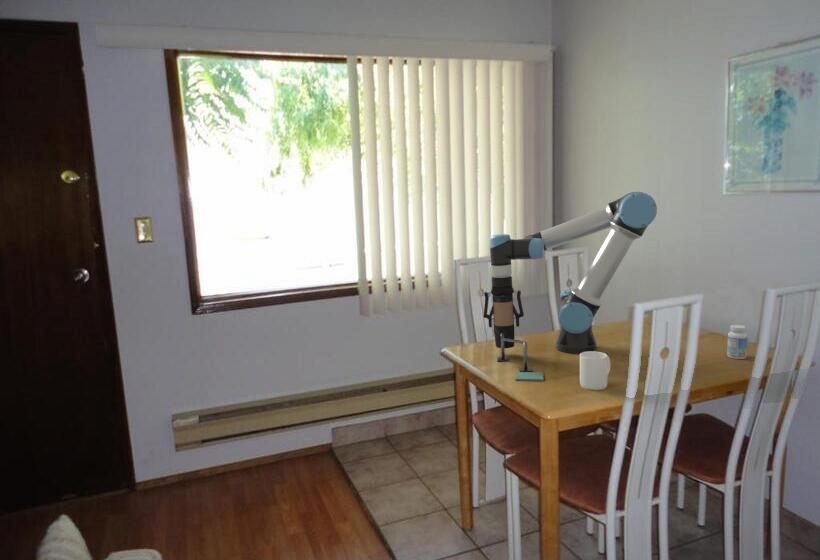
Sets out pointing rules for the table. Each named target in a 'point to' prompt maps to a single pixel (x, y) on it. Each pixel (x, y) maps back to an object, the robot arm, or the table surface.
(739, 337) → the pill bottle
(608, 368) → the cup
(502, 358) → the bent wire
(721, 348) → the table surface
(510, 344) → the travel mug
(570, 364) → the table surface
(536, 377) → the coaster
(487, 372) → the table surface
